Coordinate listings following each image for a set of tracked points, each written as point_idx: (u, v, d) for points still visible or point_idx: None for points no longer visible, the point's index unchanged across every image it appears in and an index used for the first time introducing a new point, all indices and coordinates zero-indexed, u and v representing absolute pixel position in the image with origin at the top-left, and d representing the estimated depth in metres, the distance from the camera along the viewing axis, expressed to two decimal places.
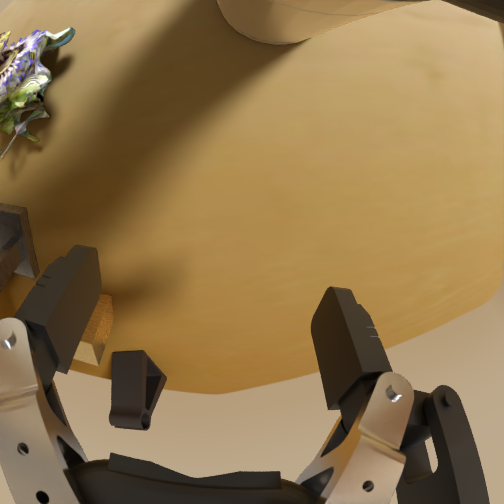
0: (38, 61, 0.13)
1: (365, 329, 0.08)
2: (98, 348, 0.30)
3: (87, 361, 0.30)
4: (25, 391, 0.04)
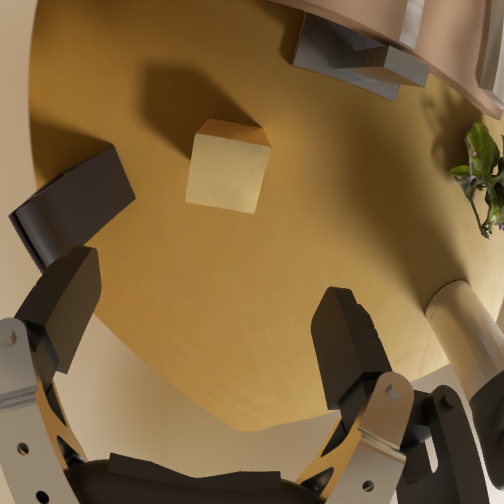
0: None
1: (365, 329, 0.08)
2: None
3: (193, 183, 0.19)
4: (25, 391, 0.04)
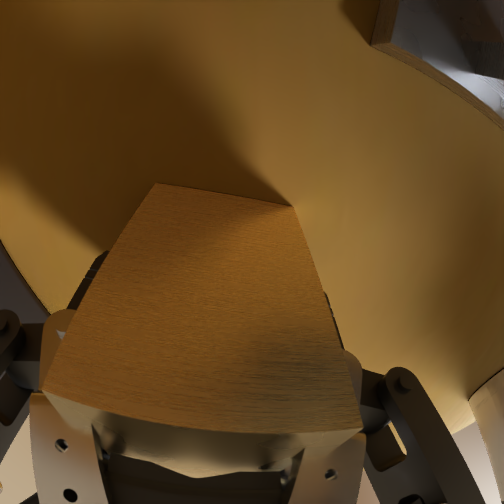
0: None
1: None
2: None
3: None
4: None
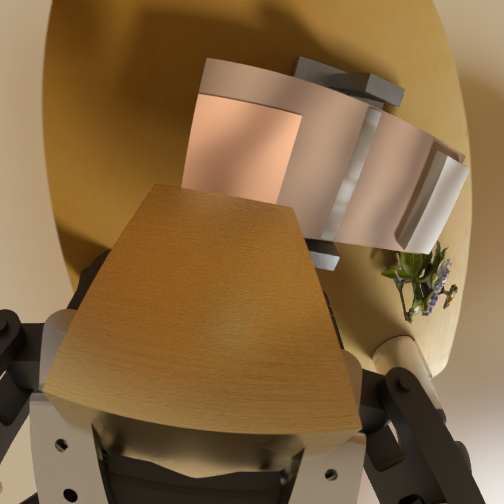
0: None
1: None
2: None
3: None
4: None
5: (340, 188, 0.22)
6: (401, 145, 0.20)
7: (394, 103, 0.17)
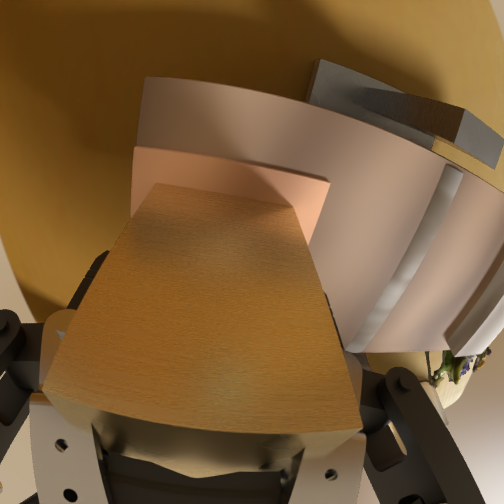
0: None
1: None
2: None
3: None
4: None
5: (383, 291, 0.13)
6: (481, 224, 0.11)
7: (489, 163, 0.08)
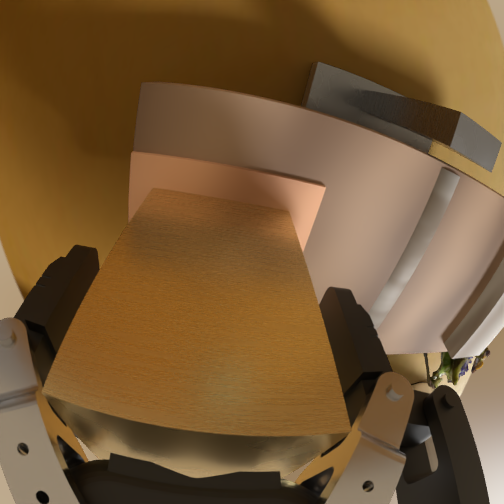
0: None
1: (365, 329, 0.08)
2: None
3: (106, 456, 0.05)
4: (25, 391, 0.04)
5: (379, 294, 0.13)
6: (478, 226, 0.11)
7: (486, 166, 0.09)
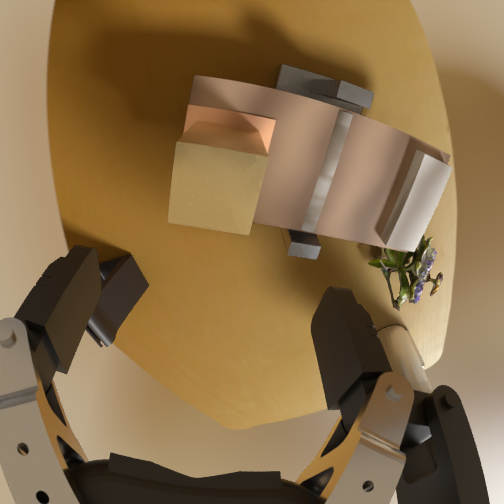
0: None
1: (365, 329, 0.08)
2: None
3: (176, 200, 0.16)
4: (25, 391, 0.04)
5: (316, 183, 0.24)
6: (376, 144, 0.22)
7: (364, 106, 0.20)
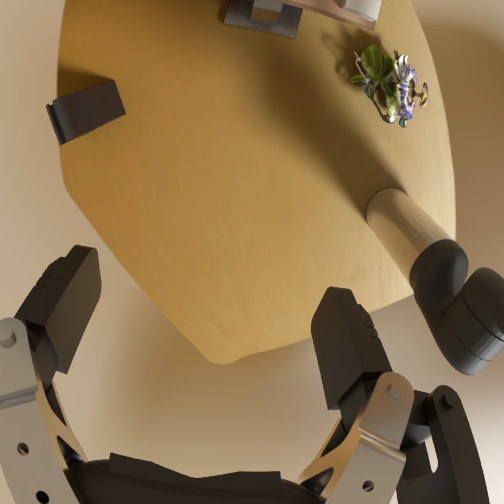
0: (400, 115, 0.34)
1: (365, 329, 0.08)
2: None
3: None
4: (25, 391, 0.04)
5: None
6: None
7: None
